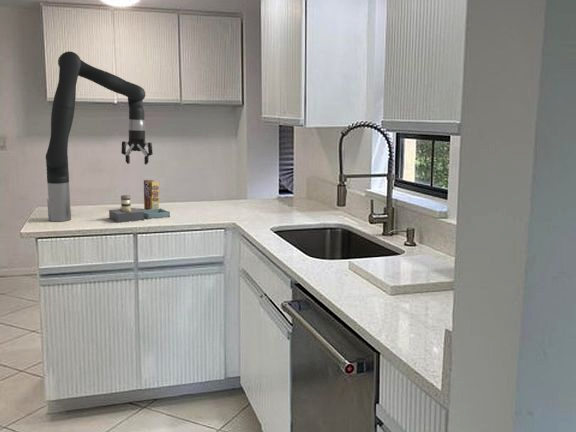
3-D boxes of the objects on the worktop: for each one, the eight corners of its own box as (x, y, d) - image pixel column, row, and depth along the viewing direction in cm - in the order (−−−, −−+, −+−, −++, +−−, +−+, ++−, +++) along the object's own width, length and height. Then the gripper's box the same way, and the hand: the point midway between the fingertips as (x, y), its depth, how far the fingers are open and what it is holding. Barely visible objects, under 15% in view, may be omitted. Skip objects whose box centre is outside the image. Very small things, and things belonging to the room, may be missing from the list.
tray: (147, 219, 274) (147, 213, 274) (139, 215, 283) (138, 210, 283) (169, 217, 281) (169, 211, 280) (160, 213, 289) (160, 208, 289)
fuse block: (117, 222, 265) (117, 211, 264) (109, 218, 275) (109, 207, 274) (143, 220, 272) (143, 209, 271) (134, 216, 282) (134, 205, 281)
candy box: (159, 211, 296) (159, 180, 293) (151, 212, 293) (151, 181, 290) (151, 208, 302) (150, 179, 300) (143, 209, 300) (143, 179, 297)
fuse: (123, 220, 270) (122, 196, 269) (120, 219, 274) (119, 195, 272) (132, 219, 273) (131, 196, 271) (129, 218, 276) (128, 194, 274)
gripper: (119, 129, 274) (119, 164, 277) (149, 130, 273) (149, 165, 276) (124, 128, 282) (125, 162, 284) (154, 129, 281) (154, 163, 284)
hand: (137, 163), depth 280 cm, fingers open, 8 cm apart
